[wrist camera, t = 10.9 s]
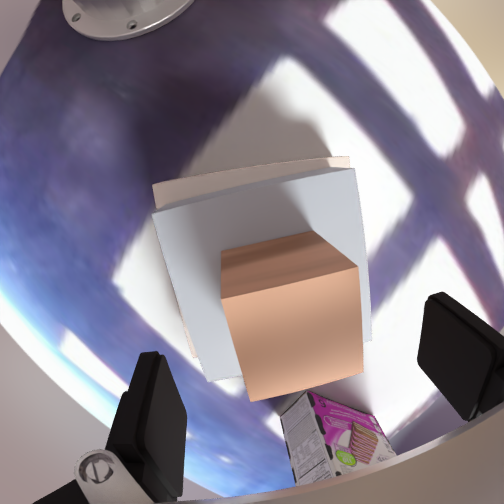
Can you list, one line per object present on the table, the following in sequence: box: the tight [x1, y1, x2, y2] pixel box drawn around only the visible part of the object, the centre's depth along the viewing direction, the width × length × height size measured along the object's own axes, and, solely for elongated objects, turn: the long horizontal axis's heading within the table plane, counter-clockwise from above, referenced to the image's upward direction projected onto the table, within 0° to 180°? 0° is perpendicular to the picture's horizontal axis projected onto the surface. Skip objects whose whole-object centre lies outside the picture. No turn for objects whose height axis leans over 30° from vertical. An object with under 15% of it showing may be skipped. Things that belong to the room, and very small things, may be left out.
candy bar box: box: [280, 391, 397, 486], centre depth 23 cm, size 11×5×16 cm, turn 56°
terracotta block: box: [221, 230, 363, 402], centre depth 14 cm, size 5×5×6 cm
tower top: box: [152, 167, 372, 382], centre depth 19 cm, size 11×11×4 cm
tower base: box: [152, 156, 350, 358], centre depth 23 cm, size 13×13×4 cm
